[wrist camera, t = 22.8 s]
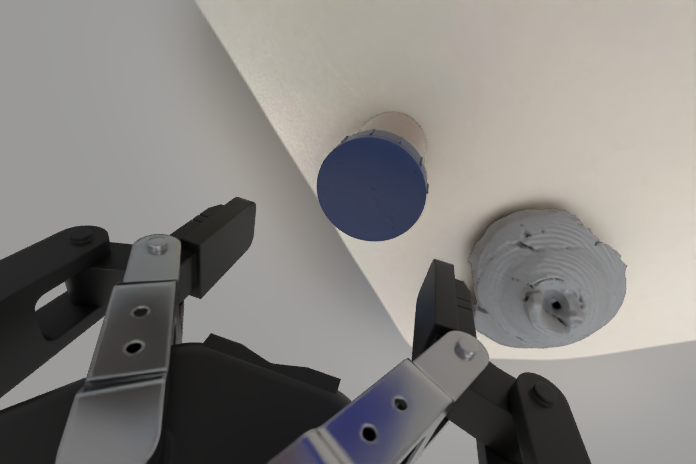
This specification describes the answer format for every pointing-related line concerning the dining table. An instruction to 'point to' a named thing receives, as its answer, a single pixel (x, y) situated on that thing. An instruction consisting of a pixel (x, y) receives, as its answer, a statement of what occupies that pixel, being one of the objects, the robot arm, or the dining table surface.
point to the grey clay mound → (544, 280)
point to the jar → (399, 129)
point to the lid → (373, 185)
